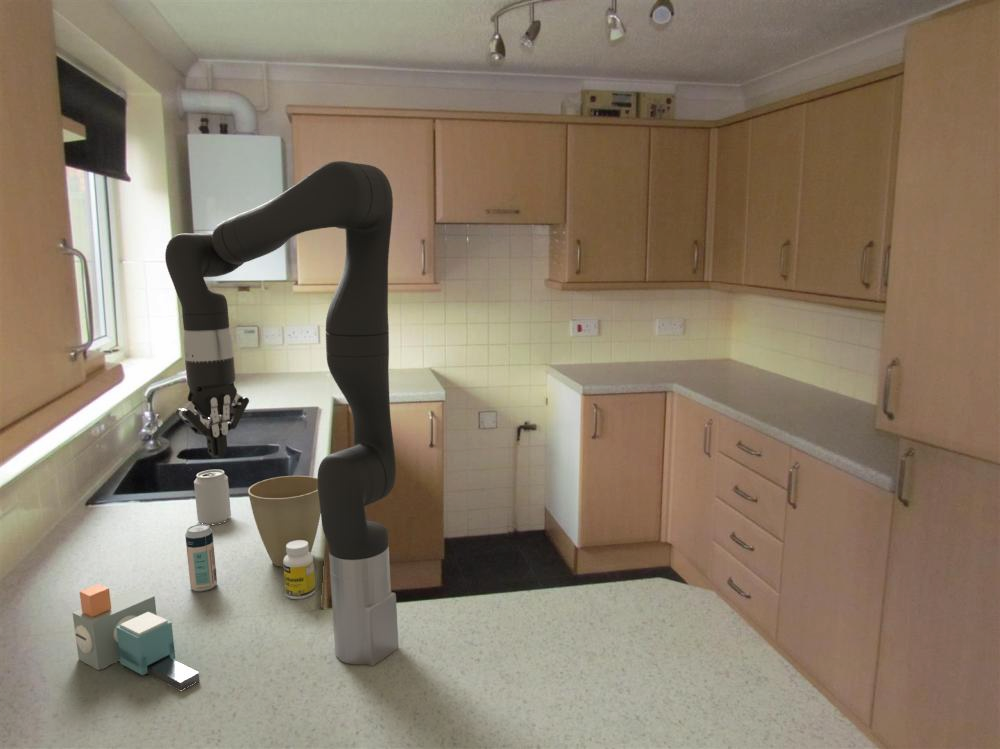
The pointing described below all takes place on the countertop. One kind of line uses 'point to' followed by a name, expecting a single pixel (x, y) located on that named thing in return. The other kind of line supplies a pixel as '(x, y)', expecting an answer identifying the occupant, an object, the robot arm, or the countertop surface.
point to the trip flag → (95, 600)
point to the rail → (173, 673)
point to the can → (212, 497)
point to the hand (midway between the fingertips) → (218, 456)
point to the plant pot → (285, 512)
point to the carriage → (145, 641)
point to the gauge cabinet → (108, 627)
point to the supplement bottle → (298, 570)
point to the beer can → (201, 557)
